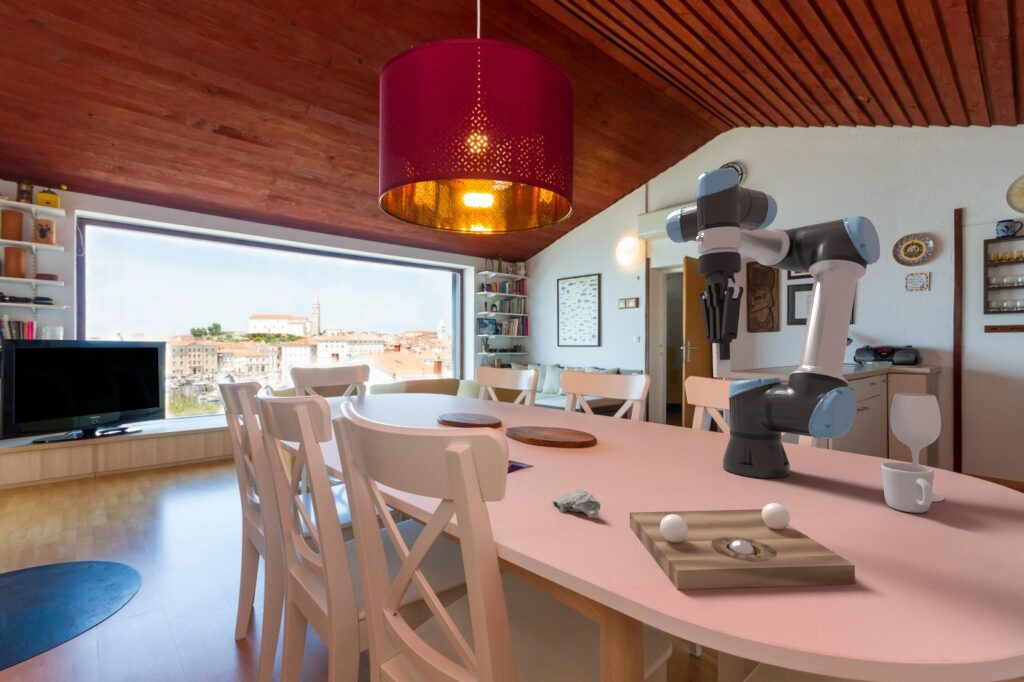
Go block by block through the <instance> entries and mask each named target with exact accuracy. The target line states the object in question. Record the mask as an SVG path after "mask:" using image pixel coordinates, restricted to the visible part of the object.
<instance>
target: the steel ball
mask: <svg viewBox="0 0 1024 682" xmlns="http://www.w3.org/2000/svg"><path fill="white" fill-rule="evenodd" d="M729 550H730V551H732V552H735V553H737V554H742V555H755V551H754V548H753V547H752V545H751V544H750V543H749V542H747V541H745V540H741V539H738V540H735V541H733V542H732V543H731V544H730V546H729Z"/></svg>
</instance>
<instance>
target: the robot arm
mask: <svg viewBox="0 0 1024 682" xmlns="http://www.w3.org/2000/svg"><path fill="white" fill-rule="evenodd" d="M740 183H741V180H740V175H739V173H738V171H737V170H736V169H733V168H729V167H728V168H727V167H726V168H725V167H724V168H716V169H711V170H708V171H706V172H703V173H702V174H700V175H699V176H698V177H697V180H696V190H695V191H696V195H695V200H696V204H692V205H688V206H683V207H681V208H679V209H676V210H674V211H673V210H672V212H670V213H669V214H668V216H667V218H666V220H665V231H666V234H667V237H668V238H669V240H671V242H673V243H675V244H676V243H677V244H680V243H688V242H692V241H693V242H697V252H698V254H700V256H699V257H697V265H698V266H697V270H698V271H697V272H698V275H699V276H701V277H705V278H706V279H705V285H704V288H705V289H704V290H705V291H704V292H700V293H699V301H700V302H701V303H700V304H701V309H702V317H703V323H704V324H703V325H704V331H705V333H704V334H705V338H706V340H710V343H711V344H712V373H713V375H712V376H713V378H731V377H732V370H731V367H732V366H731V343H732V342H733V340H737V339H738V332H739V330H738V329H739V322H740V321H739V320H740V311H741V304H742V303H741V300H742V297H743V293H744V287H743V286H738V285H736V279H735V275H736V274H739V273H740V272H741V271H742V257H741V255H742V256H746V257H749V258H753V259H755V261H756V262H757V263H758V264H760V265H763V266H767V267H770V268H774V269H779V270H783V271H788V272H789V271H791V272H799V273H801V272H802V273H804V272H806V273H807V272H808V273H809V274H810V275H811V276H812V277H813V279H814V280H813V285H812V289H811V295H810V302H809V307H808V313H807V318H806V324H805V328H804V329H805V330H804V333H803V341H802V346H801V352H800V357H799V358H800V359H799V364H798V368H797V369H795V370H793V371H792V372H791V373H789V377H788V382H787V383H782V379H781V378H780V377H779V376H778V377H765V378H753V379H739V380H734V381H732V382H731V383H730V385H729V390H728V391H729V393H728V403H729V407H728V409H729V412H728V413H729V440H728V442H727V446H726V449H725V451H724V455H723V458H722V468H723V470H725V471H726V472H729V473H732V474H736V475H740V476H746V477H753V478H759V479H760V478H763V479H767V478H768V479H775V478H776V479H779V478H785V477H788V476H790V475H791V464H790V461H789V458H788V456H787V453H786V450H785V447H784V444H783V442H782V433H783V434H789V435H797V436H803V437H804V436H805V437H811V438H814V439H825V440H826V439H828V440H837V439H840V438H842V437H844V436H845V435H846V434H848V432H849V431H850V429H851V428H852V426H853V424H854V422H855V419H856V416H857V410H858V409H857V408H858V404H856V403H857V400H858V399H857V396H856V393H855V392H854V391H853V390H852V389H851V388H849V381H848V380H847V379H846V378H845V377H844V376H843V375H842V373H843V368H844V361H845V356H846V350H847V342H848V338H849V337H848V336H849V330H850V326H851V325H850V324H851V318H852V311H853V305H854V299H855V292H856V286H857V281H858V280H860V279H862V278H863V277H865V275H866V272H867V267H868V265H873V264H877V262H878V260H879V259H880V255H881V243H880V239H879V233H878V232H877V229H876V226H875V225H874V223H873V222H872V220H870V219H869V218H868V217H866V216H863V215H857V216H852V217H843V218H842V219H836V220H835V219H834V220H831V221H825V222H821V223H815V224H810V225H805V226H804V225H803V226H800V227H793V228H790V229H781V228H775V227H773V228H772V227H771V228H768V227H769V226H770V225H772V224H773V222H774V221H775V219H776V217H777V213H778V203H777V201H776V199H775V197H774V196H772V195H770V194H767V193H765V192H763V191H762V190H755V189H752V188H747V187H743V186H741V185H740Z"/></svg>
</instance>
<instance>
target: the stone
mask: <svg viewBox="0 0 1024 682" xmlns="http://www.w3.org/2000/svg"><path fill="white" fill-rule="evenodd" d="M552 502H553V503H555V504H557V507H559V509H560V512H561V513H564V512H567V511H571V512H574V513H575V512H579V513H580V512H581V513H584V514H585V515H586V516H587V517H588V518H589V519H595V520H596V519H597V520H599V519H600V516H599V511H601V502H600V501H598V499H596V497H594V495H593V494H592V493H589V492H588V491H586V490H583V489H578V490H575V491H571V492H567V493H564V494H562V495H560V496H558V497H556V498H554V499H552Z"/></svg>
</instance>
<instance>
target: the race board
mask: <svg viewBox="0 0 1024 682" xmlns="http://www.w3.org/2000/svg"><path fill="white" fill-rule="evenodd" d="M762 510H763V508H759V509H758V508H757V509H756V508H755V509H752V508H751V509H718V510H711V509H710V510H678V511H675V510H673V511H638V512H637V511H635V512H633V511H632V512H631V511H630V512H629V528H630V529H631V530H632V531H633V533H634V534H635V536H636V537H637V538H638V539H639V541H640V542H641V544H642V545H643V546H644V547H645V549H646V550H647V552H648V553H649V554H650V555H651V556H652V558H653V559H654V561H655V562H656V563H657V564H658V565H659V567H660V569H661V570H662V571H663V572H664V573H665V575H666V576H667V578H668V579H669V580H670V582H671V583H672V585H673V586H674V587H675V588H676V590H698V589H699V590H700V589H729V588H731V589H732V588H737V589H738V588H762V587H763V588H764V587H766V588H768V587H793V586H794V587H796V586H798V587H799V586H828V585H829V586H830V585H855V584H856V564H854V563H853V562H851V561H849V560H848V559H846V558H844V557H843V556H841V555H839V554H837V553H836V552H834V551H833V550H831V549H829V548H828V547H826V546H825V545H823V544H821V543H820V542H818V541H816V540H814V539H813V538H811V537H810V536H808V535H806V534H804V533H803V532H802V531H799V530H798V529H796V528H794V527H793V526H792V525H790V524H788V526H787V527H785V528H783V529H779V530H777V529H773V528H770V527H769V526H767V525H766V524H765V522H764V521H763V519H762ZM670 514H675V515H678V516H680V517H682V518H683V519H684V520H685V522H686V523H687V526H688V534H687V537H686V538H685V539H684V540H683V541H682V542H679V543H672V542H669V541H668V540H666V539H665V538H664V537H663V535H662V534H661V531H660V523H661V521H662V519H663V518H664V517H665V516H667V515H670ZM738 539H741V540H745V541H747V542H749V543H750V544H751V545H752V547H753V548H754V551H755V555H742V554H737V553H735V552H732V551H730V550H729V546H730V544H731V543H732V542H733V541H735V540H738Z"/></svg>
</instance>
